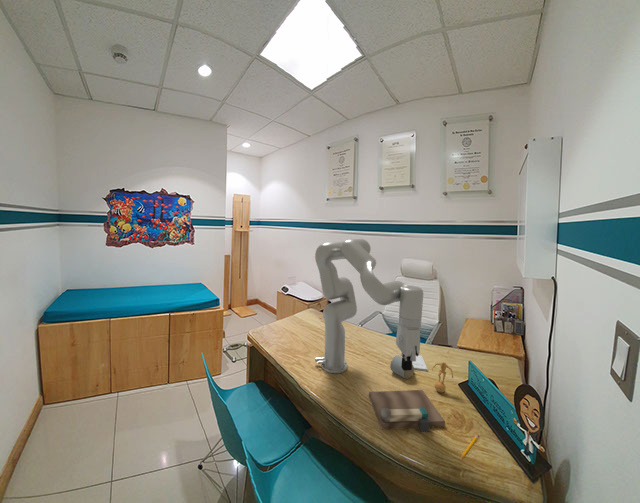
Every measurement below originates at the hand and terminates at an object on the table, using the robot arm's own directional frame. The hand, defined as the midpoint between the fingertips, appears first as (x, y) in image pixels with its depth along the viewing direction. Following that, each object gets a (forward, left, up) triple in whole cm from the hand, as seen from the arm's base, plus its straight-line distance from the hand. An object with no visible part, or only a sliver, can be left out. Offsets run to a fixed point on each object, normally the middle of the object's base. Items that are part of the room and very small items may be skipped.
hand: (406, 369), depth 90 cm
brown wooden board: (0, 0, -16) cm, 16 cm away
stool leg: (-3, -6, -14) cm, 16 cm away
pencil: (+14, -16, -17) cm, 27 cm away
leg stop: (+3, -9, -16) cm, 19 cm away
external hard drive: (+19, +30, -17) cm, 39 cm away
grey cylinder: (+9, +22, -16) cm, 29 cm away
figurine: (+20, +10, -16) cm, 27 cm away
